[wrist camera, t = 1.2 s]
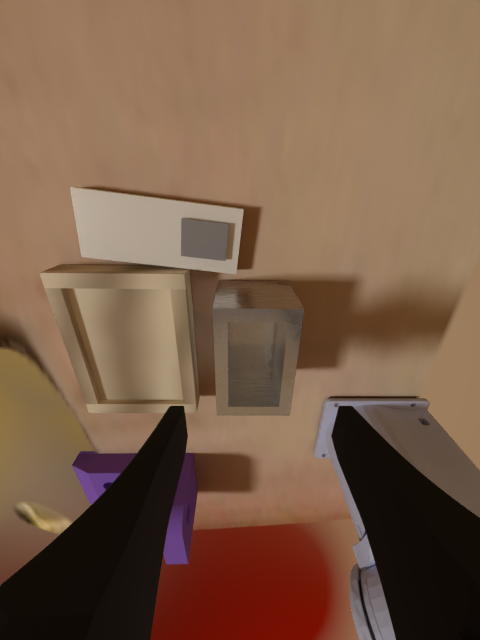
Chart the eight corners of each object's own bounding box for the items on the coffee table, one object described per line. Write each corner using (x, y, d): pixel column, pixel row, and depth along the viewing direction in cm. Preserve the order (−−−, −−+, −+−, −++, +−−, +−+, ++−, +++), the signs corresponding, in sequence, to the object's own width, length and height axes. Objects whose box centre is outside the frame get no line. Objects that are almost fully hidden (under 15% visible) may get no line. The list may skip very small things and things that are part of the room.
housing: (287, 280, 18) (304, 309, 14) (278, 369, 22) (289, 415, 17) (218, 280, 18) (212, 308, 14) (221, 369, 22) (216, 415, 17)
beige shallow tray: (189, 266, 18) (184, 274, 16) (199, 396, 23) (196, 413, 21) (59, 264, 17) (39, 272, 16) (100, 395, 23) (88, 413, 21)
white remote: (85, 187, 16) (65, 186, 14) (243, 207, 16) (243, 209, 15) (94, 251, 18) (78, 258, 16) (236, 267, 18) (236, 276, 16)
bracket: (193, 450, 27) (180, 525, 21) (198, 488, 30) (188, 563, 24) (80, 451, 27) (33, 527, 21) (96, 489, 30) (60, 565, 24)
